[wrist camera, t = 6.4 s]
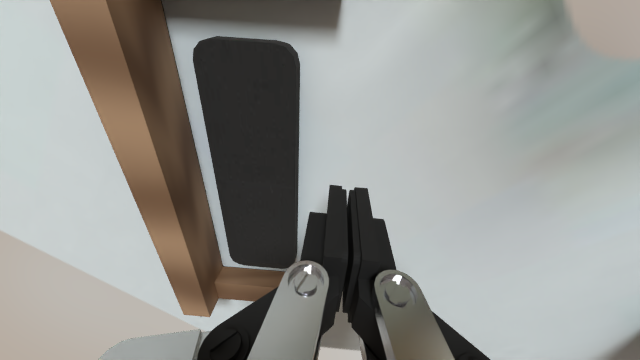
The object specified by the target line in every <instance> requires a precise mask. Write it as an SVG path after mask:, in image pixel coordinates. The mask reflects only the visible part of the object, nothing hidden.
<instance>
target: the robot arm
mask: <svg viewBox="0 0 640 360" xmlns="http://www.w3.org/2000/svg"><path fill="white" fill-rule="evenodd" d="M342 291H343V312H344V313H348V322H349V323H352V328H353V329H354V331H355V332H356V333H357V334H358V335H359V343H360V348H361V353H362V359H363V360H490V359H489V358H488V357H487V356H485V355H484V354H483V353H482V352H481V351H479V350H478V349H477V348H476V347H474V346H473V345H472V344H471V343H470V342H468V341H467V340H466V339H465V338H464V337H462V336H461V335H460V334H459V333H458V332H456V331H455V330H454V329H453V328H452V327H450V326H449V325H448V324H447V323H446V322H444V321H443V320H442V319H441V318H439V317H438V316H437V315H436V314H435V313H433V312H432V311H431V309H430V307H429V305H428V303H427V301H426V299H425V297H424V295H423V293H422V291H421V289H420V287H419V286H418V284H417V283H416V282H415V281H414V280H413V279H412V278H411V277H410V276H408V275H407V274H405V273H403V272H400V271H397V270H396V266H395V262H394V258H393V254H392V250H391V246H390V242H389V238H388V233H387V229H386V225H385V222H384V220H383V219H376V218H373V216H372V211H371V205H370V200H369V194H368V189H367V188H357V187H355V188H354V190H350V191H349V198H348V204H347V197H346V190H344V189H342V186H336V185H330V188H329V198H328V209H327V214H325V213H315V212H310V214H309V219H308V224H307V229H306V234H305V240H304V245H303V250H302V255H301V260H300V261H299V262H297V263H294V264H292V265H291V266H290V267H289V268H288V269H287V270H286V272H285V273H284V275H283V278H282V280H281V282H280V285H279V286H278V287H276V288H275V289H273V290H272V291H270V292H269V293H267V294H266V295H264V296H263V297H261V298H260V299H258V300H257V301H255V302H253V303H252V304H250V305H249V306H247V307H246V308H244V309H243V310H241V311H240V312H238V313H237V314H235V315H234V316H232V317H230V318H229V319H227V320H226V321H224V322H223V323H221V324H220V325H218V326H217V327H216V328H214V329H213V330H212V331H207V332H201V330H200V329H198V330H192V331H183V332H176V333H168V334H161V335H153V336H146V337H138V338H132V339H128V340H125V341H122V342H120V343H118V344H116V345H115V346H113V347H111V348H110V349H109V350H108V351H106V352H105V353H104V354H103V355H102V356H101V357H100V358H99V359H98V360H318V355H319V350H320V345H321V340H322V335H323V334H324V333H325V332H326V331H327V330H329V329H330V328H331V327H332V326H333V324H334V318H335V313H336V312H339V307H340V302H341V296H342Z"/></svg>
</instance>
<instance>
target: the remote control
mask: <svg viewBox="0 0 640 360" xmlns="http://www.w3.org/2000/svg"><path fill="white" fill-rule="evenodd" d="M193 63H194V68H195V74H196V79H197V84H198V89H199V95H200V100H201V105H202V110H203V116H204V121H205V126H206V131H207V137H208V142H209V147H210V152H211V158H212V163H213V168H214V173H215V179H216V184H217V189H218V195H219V200H220V205H221V210H222V216H223V221H224V226H225V231H226V237H227V242H228V247H229V253H230V256H231V258H232V260H233V261H235V262H236V263H239V264H242V265H248V266H259V267H270V268H281V269H283V268H289V267H290V266H291V265H292V264H294V262H295V258H296V255H297V227H298V159H299V92H300V62H299V58H298V54H297V52H296V51H295V50H294V49H293V47H292V46H291V45H290V44H288V43H285V42H281V41H277V40H263V39H249V38H235V37H220V36H217V37H212V38H208V39H205V40H202V41H199V43H198V44H197V45H196V47H195V48H194V51H193Z"/></svg>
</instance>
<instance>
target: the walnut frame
mask: <svg viewBox="0 0 640 360" xmlns="http://www.w3.org/2000/svg"><path fill="white" fill-rule="evenodd" d="M50 2H51V4H52V7H53V9H54V11H55V14H56V16H57V18H58V21H59V23H60V25H61V28H62V30H63V33H64V35H65V37H66V40H67V42H68V44H69V47H70V49H71V51H72V54H73V56H74V58H75V61H76V63H77V65H78V68H79V70H80V72H81V75H82V77H83V79H84V82H85V84H86V86H87V89H88V91H89V93H90V96H91V98H92V100H93V103H94V105H95V108H96V110H97V112H98V115H99V117H100V119H101V122H102V124H103V126H104V129H105V131H106V133H107V136H108V138H109V140H110V143H111V145H112V147H113V150H114V152H115V154H116V157H117V159H118V161H119V164H120V166H121V168H122V171H123V173H124V175H125V178H126V180H127V183H128V185H129V187H130V190H131V192H132V194H133V197H134V199H135V201H136V204H137V206H138V208H139V211H140V213H141V215H142V218H143V220H144V222H145V225H146V227H147V229H148V232H149V234H150V236H151V239H152V241H153V243H154V246H155V248H156V250H157V253H158V255H159V258H160V260H161V262H162V265H163V267H164V269H165V272H166V274H167V276H168V279H169V281H170V283H171V286H172V288H173V290H174V293H175V295H176V297H177V300H178V302H179V304H180V307H181V309H182V311H183V314H184V315H193V316H205V317H210V316H211V314H212V311H213V309H214V307H215V305H216V303H217V301H218V299H219V298H222V299H234V300H245V301H257V300H258V299H260V298H261V297H263V296H264V295H266V294H267V293H269V292H270V291H272V290H273V289H275V288H276V287H278V286H279V285H280V282H281V280H282V278H283V275H284V273H285V272H282V271H271V270H259V269H247V268H236V267H224V266H223V265H222V261H221V257H220V252H219V248H218V244H217V239H216V235H215V231H214V227H213V222H212V218H211V214H210V209H209V205H208V201H207V196H206V192H205V188H204V184H203V179H202V175H201V171H200V166H199V162H198V158H197V153H196V149H195V145H194V141H193V136H192V132H191V128H190V123H189V119H188V115H187V110H186V106H185V102H184V98H183V93H182V89H181V85H180V80H179V76H178V72H177V67H176V63H175V59H174V55H173V50H172V46H171V42H170V37H169V33H168V29H167V24H166V20H165V16H164V12H163V7H162V3H161V0H50Z"/></svg>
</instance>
